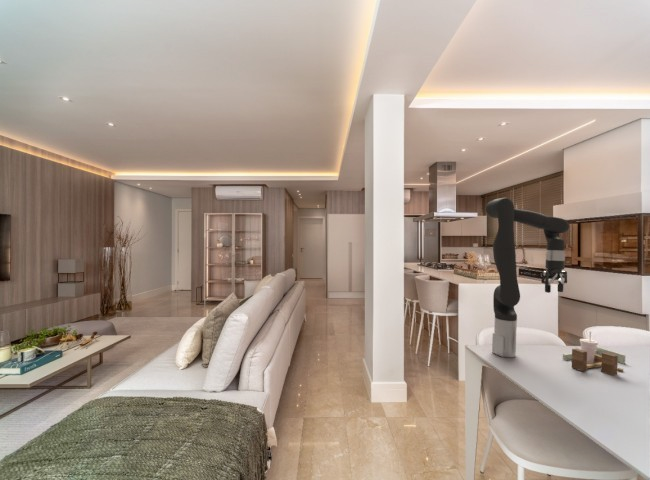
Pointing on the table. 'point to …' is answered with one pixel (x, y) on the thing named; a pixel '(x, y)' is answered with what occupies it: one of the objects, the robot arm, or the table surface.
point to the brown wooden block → (610, 364)
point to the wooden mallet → (584, 360)
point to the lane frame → (599, 352)
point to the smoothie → (589, 348)
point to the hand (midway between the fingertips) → (554, 292)
